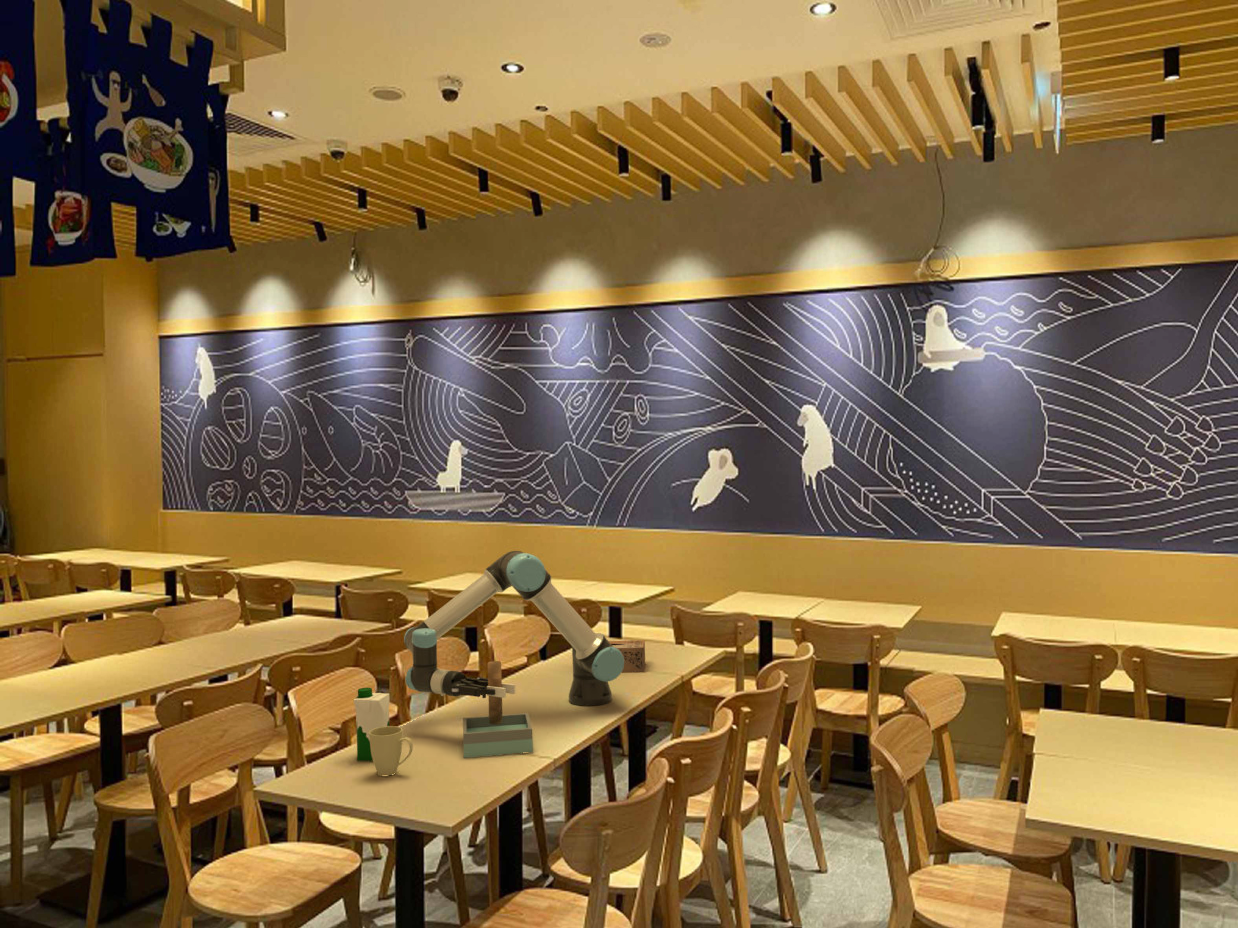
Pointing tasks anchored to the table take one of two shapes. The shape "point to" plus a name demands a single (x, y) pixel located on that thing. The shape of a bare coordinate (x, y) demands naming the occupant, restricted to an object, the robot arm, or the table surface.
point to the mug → (387, 748)
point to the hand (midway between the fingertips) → (509, 691)
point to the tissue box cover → (632, 655)
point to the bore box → (497, 735)
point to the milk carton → (369, 718)
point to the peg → (494, 702)
